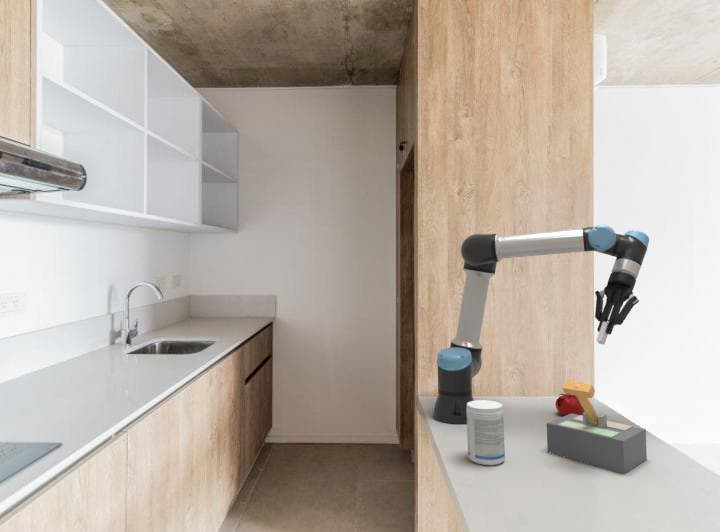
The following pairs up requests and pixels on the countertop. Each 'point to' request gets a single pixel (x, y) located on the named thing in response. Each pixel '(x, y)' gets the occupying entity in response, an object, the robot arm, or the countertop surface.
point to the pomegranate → (569, 405)
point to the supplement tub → (485, 432)
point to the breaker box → (597, 442)
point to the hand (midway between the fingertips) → (600, 342)
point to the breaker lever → (583, 398)
